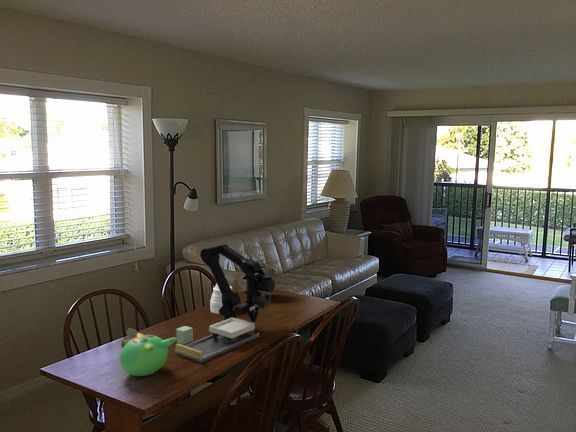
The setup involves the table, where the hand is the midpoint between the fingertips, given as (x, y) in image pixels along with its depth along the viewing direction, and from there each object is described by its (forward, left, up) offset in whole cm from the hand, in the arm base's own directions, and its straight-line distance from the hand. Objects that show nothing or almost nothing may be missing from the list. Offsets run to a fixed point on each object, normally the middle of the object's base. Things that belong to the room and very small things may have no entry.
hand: (253, 322), depth 226 cm
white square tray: (0, -13, -2) cm, 14 cm away
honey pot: (-34, +13, -4) cm, 37 cm away
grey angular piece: (-26, -47, -4) cm, 54 cm away
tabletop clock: (-31, +41, -4) cm, 51 cm away
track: (0, -22, -4) cm, 22 cm away
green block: (-15, -28, -4) cm, 32 cm away
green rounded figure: (-2, -57, -4) cm, 57 cm away
